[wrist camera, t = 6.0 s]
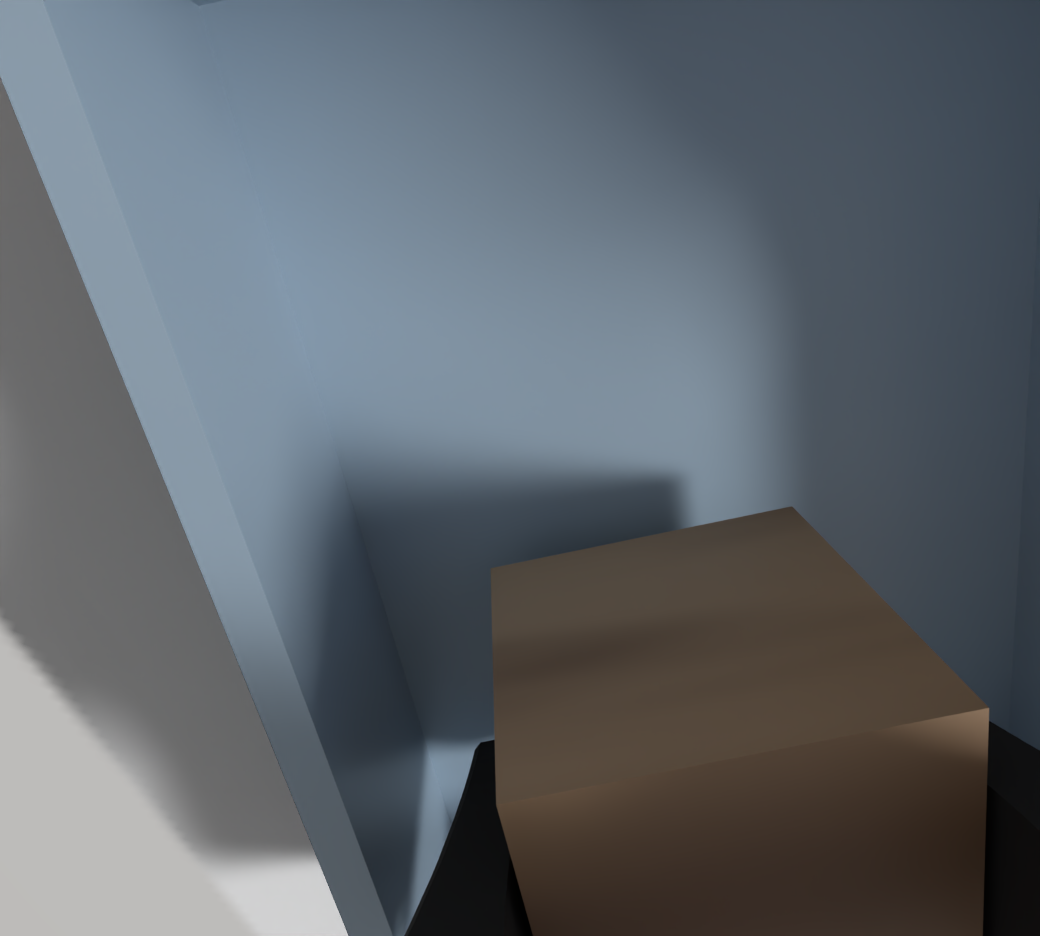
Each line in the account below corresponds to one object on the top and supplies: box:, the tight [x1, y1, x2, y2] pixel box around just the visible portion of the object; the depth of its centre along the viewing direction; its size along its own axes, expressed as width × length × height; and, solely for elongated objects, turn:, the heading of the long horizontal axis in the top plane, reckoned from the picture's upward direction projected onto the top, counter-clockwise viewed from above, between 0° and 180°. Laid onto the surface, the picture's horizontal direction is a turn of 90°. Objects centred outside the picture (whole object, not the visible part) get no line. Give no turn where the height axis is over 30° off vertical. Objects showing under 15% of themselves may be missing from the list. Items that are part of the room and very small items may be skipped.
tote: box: [0, 0, 1040, 936], centre depth 11 cm, size 13×17×5 cm
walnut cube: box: [491, 506, 989, 936], centre depth 11 cm, size 5×5×5 cm
